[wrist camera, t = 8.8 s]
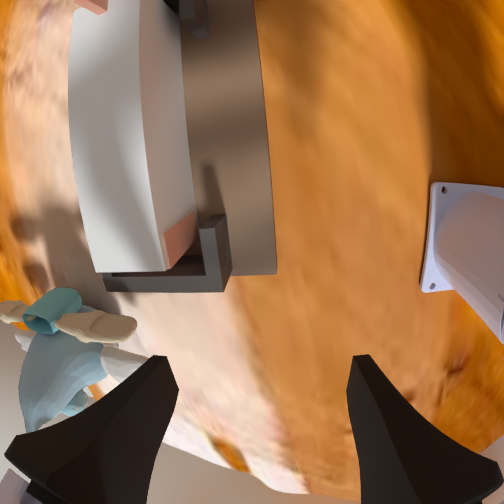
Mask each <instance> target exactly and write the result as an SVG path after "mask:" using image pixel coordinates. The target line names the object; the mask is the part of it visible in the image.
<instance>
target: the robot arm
mask: <svg viewBox="0 0 504 504" xmlns="http://www.w3.org/2000/svg"><path fill="white" fill-rule="evenodd" d="M443 187H444V188H445V190H444V192H443V193H442V188H443ZM432 283H433V285H432V286H431V287H430V285H431V284H432ZM420 289H421V290H422V291H423V292H424V293H427V292H436V291H444V290H452V289H455V290H456V291H457V292H458V294H459V295H460V296H461V297H462V298H463V299H464V300H465V301H466V302H467V303H468V304H469V305H470V306H471V307H472V308H473V310H474V311H475V312H476V313H477V314H478V315H479V316H480V317H481V319H482V320H483V321H484V322H485V323H486V324H487V326H488V327H489V328H490V329H491V330H492V331H493V333H494V334H495V335H496V336H497V337H498V339H499V340H500V341H501V342H502V344H503V345H504V188H503V187H494V186H485V185H474V184H462V183H449V182H434V183H433V184H432V185H431V189H430V208H429V221H428V232H427V241H426V250H425V257H424V264H423V270H422V276H421V282H420ZM178 392H179V388H178V386H177V383H176V381H175V378H174V375H173V373H172V370H171V367H170V364H169V362H168V359H167V356H157V355H153V356H152V357H151V358H149V359H148V360H147V361H146V362H145V363H144V364H142V365H141V366H140V367H139V368H138V369H137V370H136V371H134V372H133V373H132V374H131V375H130V376H129V377H127V378H126V379H125V380H124V381H123V382H122V383H120V384H119V385H118V386H117V387H115V388H114V389H113V390H112V391H110V392H109V393H108V394H106V395H105V396H104V397H102V398H101V399H100V400H98V401H97V402H95V403H94V404H92V405H91V406H90V407H88V408H86V409H84V410H83V411H81V412H79V413H78V414H76V415H74V416H72V417H70V418H68V419H66V420H64V421H62V422H59V423H57V424H54V425H52V426H49V427H47V428H44V429H41V430H37V431H34V432H29V433H26V434H21V435H16V437H15V438H14V440H13V441H12V443H11V444H10V446H9V447H8V449H7V451H6V452H5V454H4V455H5V457H6V458H7V459H8V460H9V461H10V462H11V463H12V464H13V465H14V466H15V467H17V468H18V469H19V470H20V471H21V472H22V473H24V474H25V475H26V476H27V477H28V478H30V479H31V482H30V484H29V483H28V482H27V481H25V480H24V479H23V478H21V477H20V476H19V475H17V474H16V473H15V472H14V471H13V470H11V469H8V471H7V473H6V474H5V476H4V477H3V479H2V481H1V483H0V504H146V502H147V495H148V489H149V484H150V479H151V474H152V470H153V466H154V462H155V459H156V455H157V453H158V450H159V447H160V445H161V442H162V440H163V437H164V435H165V432H166V430H167V427H168V425H169V422H170V420H171V417H172V414H173V412H174V409H175V405H176V401H177V396H178ZM346 393H347V403H348V412H349V417H350V422H351V426H352V431H353V435H354V440H355V444H356V449H357V454H358V459H359V466H360V480H361V504H482V500H483V499H484V498H486V497H487V496H489V495H490V494H491V493H493V492H494V491H496V490H497V489H498V488H499V487H500V486H501V485H502V484H503V482H504V479H503V476H502V473H501V470H500V468H499V465H498V463H497V462H495V461H493V460H491V459H488V458H486V457H483V456H481V455H479V454H477V453H475V452H473V451H471V450H469V449H467V448H465V447H463V446H462V445H460V444H458V443H457V442H455V441H454V440H452V439H451V438H449V437H448V436H447V435H445V434H444V433H442V432H441V431H440V430H438V429H437V428H436V427H434V426H433V425H432V424H431V423H430V422H428V421H427V420H426V419H425V418H424V417H423V416H422V415H421V414H420V413H419V412H417V411H416V410H415V409H414V408H413V407H412V405H411V404H410V403H409V402H408V401H407V400H406V399H405V398H404V397H403V396H402V395H401V394H400V392H399V391H398V390H397V389H396V388H395V387H394V386H393V384H392V383H391V382H390V381H389V380H388V378H387V377H386V376H385V375H384V373H383V372H382V371H381V369H380V368H379V367H378V366H377V364H376V363H375V362H374V360H373V359H372V358H371V356H370V355H369V354H367V355H357V356H353V359H352V365H351V370H350V375H349V380H348V385H347V390H346ZM500 504H504V501H503V502H501V503H500Z"/></svg>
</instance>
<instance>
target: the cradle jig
mask: <svg viewBox="0 0 504 504" xmlns="http://www.w3.org/2000/svg"><path fill="white" fill-rule="evenodd" d="M163 1H164V2H165V3H166V4H167V5H168V6H169V7H170V8H171V9H172V11H173V12H174V13H175V14H176V15H177V16H178V17H179V18H180V40H181V60H182V76H183V90H184V103H185V115H186V126H187V136H188V146H189V155H190V164H191V172H192V181H193V189H194V196H195V204H196V211H197V218H198V225H199V234H198V236H199V237H198V238H197V239H196V240H195V241H194V242H193V244H192V245H191V246H190V247H189V248H188V249H187V251H186V252H185V253H184V254H183V255H182V256H181V257H180V259H179V260H178V261H177V262H176V263H175V264H174V266H173V267H172V268H171V269H167V270H166V271H152V272H100V274H101V277H102V278H103V281H104V284H105V287H106V290H107V292H162V293H198V292H224V290H225V287H226V285H227V282H228V280H229V277H230V276H245V275H273V274H277V254H276V238H275V223H274V208H273V194H272V181H271V168H270V156H269V144H268V132H267V121H266V111H265V100H264V90H263V80H262V71H261V61H260V52H259V44H258V35H257V27H256V18H255V10H254V3H253V0H163Z"/></svg>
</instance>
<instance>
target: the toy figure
mask: <svg viewBox="0 0 504 504" xmlns="http://www.w3.org/2000/svg"><path fill="white" fill-rule="evenodd" d="M0 319H1V320H3V321H4V322H5V323H11V322H24V323H25V324H26V326H27V327H28V328H29V329H31V330H16V331H15V333H14V335H15V338H16V339H17V341H18V342H19V343H21V348H22V349H23V350H25V351H26V352H27V354H26V357H25V360H24V363H23V366H22V370H21V375H20V380H19V386H18V388H19V401H20V405H21V409H22V412H23V416H24V421H25V427H26V433H29V432H34V431H37V430H39V428H40V427H41V426H42V425H43V424H45V423H47V422H48V421H50V420H52V419H53V418H55V417H56V416H57V415H58V414H59V413H61V412H62V413H63V414H65V415H68V416H74V415H76V414H78V413H79V412H81V411H83V410H84V408H85V406H86V404H87V402H88V401H89V399H88V396H91V397H93V395H92V393H91V392H90V390H89V389H88V387H87V386H89V385H91V384H94V383H97V382H99V381H101V380H102V379H104V378H105V377H106V376H107V375H108V374H110V375H111V376H112V377H113V378H114V379H116V380H117V381H118V382H120V383H122V382H123V381H124V380H125V379H126V378H127V377H129V376H130V375H131V374H132V373H133V372H134V371H136V370H137V369H138V368H139V367H140V366H141V365H142V364H144V363H145V362H146V361H147V360H148V359H149V358H147V357H145V356H142V355H137V354H134V353H130V352H127V351H124V350H121V349H119V346H118V343H120V342H124V341H126V340H128V339H129V338H130V337H131V336H132V335H133V333H134V331H135V330H136V327H137V321H136V320H135V319H134V318H132V317H129V316H124V315H119V314H111V313H106V312H104V311H102V310H96V309H94V308H92V307H90V306H86V305H82V299H81V296H80V294H79V293H78V291H76V290H74V289H72V288H66V287H60V288H55V289H53V290H50V291H49V292H47V293H46V294H45V295H44V296H42V297H41V298H40V299H39V300H37V301H36V302H35V303H34V304H33V305H31V306H29V305H26V304H24V303H23V302H22V301H21V300H18V301H3V302H1V303H0ZM82 389H83V390H84V391H83V390H82Z"/></svg>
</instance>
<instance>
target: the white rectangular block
mask: <svg viewBox="0 0 504 504" xmlns="http://www.w3.org/2000/svg"><path fill="white" fill-rule="evenodd" d="M74 3H75V4H77V5H80V6H82V7H81V8H79V9H77V10H75V11H74V14H73V21H72V29H71V38H70V50H69V68H68V110H69V129H70V141H71V151H72V160H73V168H74V175H75V182H76V188H77V194H78V200H79V205H80V210H81V215H82V220H83V225H84V229H85V233H86V238H87V242H88V246H89V250H90V254H91V257H92V261H93V264H94V268H95V271H96V272H152V271H166V270H167V269H171V268H172V267H173V266H174V264H175V263H176V262H177V261H178V260H179V259H180V257H181V256H182V255H183V254H184V253H185V252H186V251H187V249H188V248H189V247H190V246H191V245H192V244H193V242H194V241H195V240H196V239H197V238H198V237H199V236H198V234H199V225H198V218H197V211H196V204H195V196H194V189H193V181H192V172H191V164H190V155H189V146H188V136H187V126H186V115H185V103H184V90H183V76H182V60H181V40H180V18H179V17H178V16H177V15H176V14H175V13H174V12H173V11H172V9H171V8H170V7H169V6H168V5H167V4H166V3H165V2H164V1H163V0H75V2H74Z"/></svg>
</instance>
